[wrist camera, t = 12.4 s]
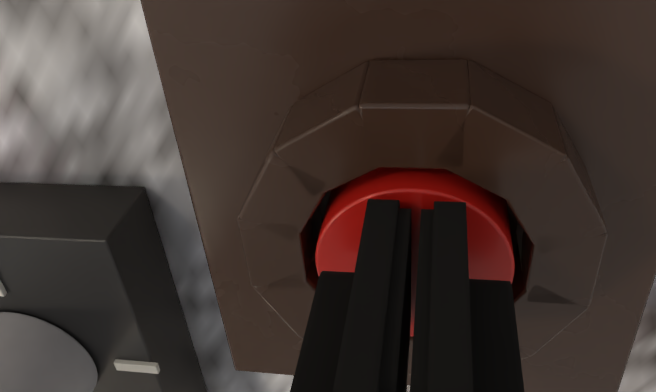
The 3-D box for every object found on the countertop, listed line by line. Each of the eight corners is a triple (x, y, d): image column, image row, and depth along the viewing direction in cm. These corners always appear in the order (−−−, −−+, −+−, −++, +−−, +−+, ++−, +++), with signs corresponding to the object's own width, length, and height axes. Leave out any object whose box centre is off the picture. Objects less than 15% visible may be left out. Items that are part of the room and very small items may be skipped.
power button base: (590, 310, 18) (632, 471, 14) (262, 290, 19) (214, 428, 15) (709, -162, 11) (865, -114, 7) (182, -127, 12) (57, -73, 8)
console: (214, 397, 23) (191, 461, 21) (21, 379, 25) (-19, 437, 23) (151, 186, 18) (110, 244, 15) (-97, 178, 19) (-165, 231, 17)
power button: (498, 281, 13) (504, 344, 12) (335, 272, 14) (322, 331, 12) (516, 137, 11) (526, 192, 10) (322, 135, 12) (305, 186, 10)
